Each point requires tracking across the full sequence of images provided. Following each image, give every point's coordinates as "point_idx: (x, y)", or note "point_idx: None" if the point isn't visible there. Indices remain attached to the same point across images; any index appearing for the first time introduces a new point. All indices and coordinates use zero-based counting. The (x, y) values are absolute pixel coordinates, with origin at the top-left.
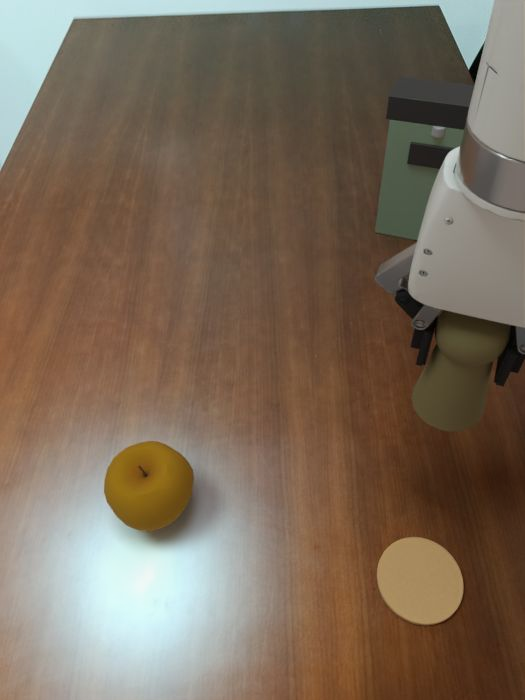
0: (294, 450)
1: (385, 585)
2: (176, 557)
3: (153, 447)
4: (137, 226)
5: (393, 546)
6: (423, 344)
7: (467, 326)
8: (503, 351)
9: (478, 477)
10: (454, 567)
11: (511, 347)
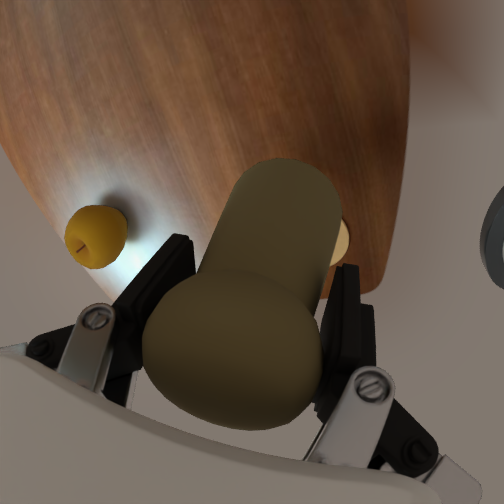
0: (181, 145)
1: None
2: (144, 247)
3: (74, 232)
4: (8, 8)
5: None
6: None
7: (200, 417)
8: (324, 340)
9: (367, 134)
10: (342, 228)
11: (318, 404)
